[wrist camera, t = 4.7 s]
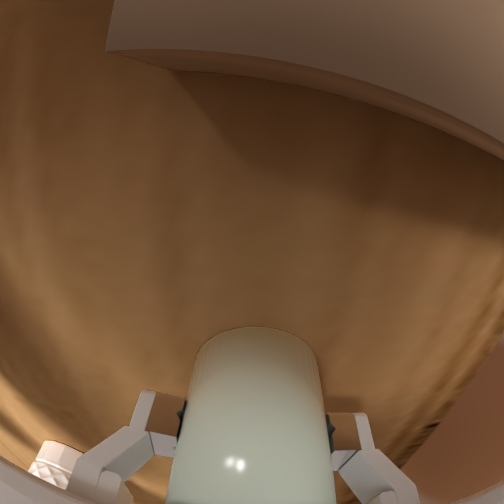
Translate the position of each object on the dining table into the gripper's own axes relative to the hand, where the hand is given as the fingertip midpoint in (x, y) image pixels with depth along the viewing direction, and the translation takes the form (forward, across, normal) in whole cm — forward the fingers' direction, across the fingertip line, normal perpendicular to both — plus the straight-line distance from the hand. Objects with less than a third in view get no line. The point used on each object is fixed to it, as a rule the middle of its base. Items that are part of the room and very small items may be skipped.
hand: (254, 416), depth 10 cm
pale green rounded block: (+2, 0, 0) cm, 2 cm away
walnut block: (+3, -2, -16) cm, 16 cm away
